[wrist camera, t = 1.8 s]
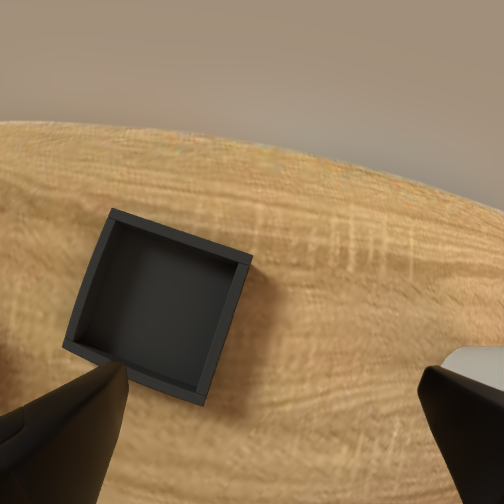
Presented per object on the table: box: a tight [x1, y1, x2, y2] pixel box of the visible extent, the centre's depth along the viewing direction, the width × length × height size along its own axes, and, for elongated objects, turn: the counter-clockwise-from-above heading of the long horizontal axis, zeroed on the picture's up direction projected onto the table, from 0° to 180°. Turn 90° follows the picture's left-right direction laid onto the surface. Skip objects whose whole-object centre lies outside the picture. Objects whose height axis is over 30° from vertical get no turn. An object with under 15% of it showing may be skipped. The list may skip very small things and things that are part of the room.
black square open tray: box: [62, 208, 253, 406], centre depth 23 cm, size 11×11×3 cm
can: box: [441, 346, 504, 391], centre depth 19 cm, size 8×8×12 cm
